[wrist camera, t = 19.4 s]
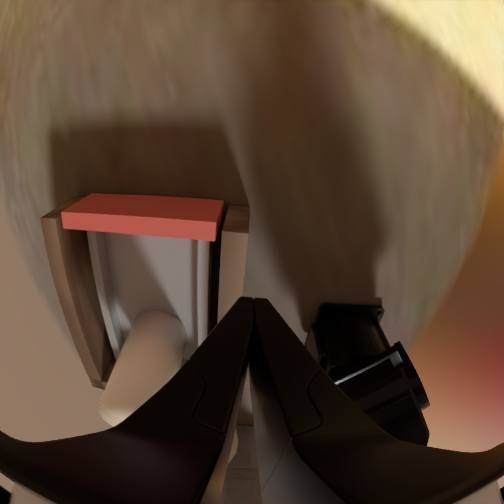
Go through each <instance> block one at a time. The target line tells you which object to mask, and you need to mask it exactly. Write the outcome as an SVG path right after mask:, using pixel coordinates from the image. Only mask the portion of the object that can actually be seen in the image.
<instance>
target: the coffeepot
mask: <svg viewBox="0 0 504 504" xmlns="http://www.w3.org/2000/svg"><path fill="white" fill-rule="evenodd" d="M235 429H236V431H237V437H238V446H237V450H236V454H235V455H234V457H233V458H232V459H231V461H230V462H229V464H228V466H227V471H226V475H225V480H224V485H223V489H222V494H221V498H220V503H219V504H262V498H261V488H260V479H259V470H258V461H257V451H256V441H255V431H254V426H250V425H236V428H235Z"/></svg>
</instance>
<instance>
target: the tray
mask: <svg viewBox="0 0 504 504" xmlns="http://www.w3.org/2000/svg"><path fill="white" fill-rule="evenodd" d="M223 204H224V200H213V199H200V198H186V197H170V196H152V195H130V194H100V193H92V194H90V195H88V196H86V197H85V198H83V199H81V200H80V201H78V202H76V203H75V204H73V205H72V206H70V207H68V208H67V209H65V210H64V211H62V212H61V215H62V223H63V229H75V230H87V237H88V244H89V250H90V256H91V262H92V268H93V273H94V278H95V283H96V288H97V293H98V297H99V301H100V306H101V310H102V314H103V318H104V322H105V325H106V329H107V333H108V336H109V340H110V343H111V346H112V350H113V353H114V356H115V359H116V361H117V358H118V356H119V354H120V351H121V349H122V347H123V344H124V342H125V340H126V338H127V335H128V333H129V331H130V329H131V327H132V324H133V322H134V320H135V318H136V316H137V315H138V314H139V313H141V312H143V311H146V310H160V311H164V312H167V313H169V314H171V315H173V316H175V317H176V318H177V319H178V320H179V321H180V322H181V323H182V324H183V325H184V327H185V329H186V332H187V339H186V344H185V348H184V353H183V357H182V362H181V366H180V368H181V367H182V366H183V365H184V363H185V362H186V361H187V360H189V358H190V356H191V355H192V354H193V353H194V352H195V350H196V349H197V348H198V347H199V346H200V344H201V343H202V342H203V341H204V340H205V338H206V337H207V336H208V335H209V334H210V328H211V285H212V257H213V241H215V240H216V236H217V233H218V230H219V226H220V223H221V220H222V217H223Z"/></svg>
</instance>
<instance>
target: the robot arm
mask: <svg viewBox="0 0 504 504" xmlns="http://www.w3.org/2000/svg"><path fill="white" fill-rule="evenodd" d="M325 308H327V309H326V310H323V309H325ZM378 311H379V312H378ZM383 314H384V309H383V307H382V306H374V305H347V304H322V305H321V306H320V307H319V310H318V314H317V317H316V321H315V324H312V325H311V328H310V332H309V335H308V338H307V342H306V347H305V346H304V345H303V343H302V342H301V341H300V340H299V338H298V337H297V336H296V335H295V333H294V332H293V331H292V329H291V328H290V327H289V326H288V324H287V323H286V322H285V321H284V319H283V318H282V317H281V316H280V314H279V313H278V312H277V310H276V309H275V308H274V307H273V305H272V304H271V303H270V301H269V300H268V299H266V298H254V300H253V298H252V297H243V296H241V297H239V298H238V299H237V300H236V302H235V303H234V304H233V305H232V307H231V308H230V309H229V310H228V312H227V313H226V314H225V315H224V316H223V318H222V319H221V320H220V321H219V323H218V324H217V325H216V326H215V327H214V329H213V330H212V331H211V332H210V334H209V335H208V336H207V337H206V338H205V340H204V341H203V342H202V343H201V344H200V346H199V347H198V348H197V349H196V350H195V352H194V353H193V354H192V355H191V356H190V358H189V360H187V361H186V362H185V363H184V365H183V366H182V367H181V368H180V369H179V370H178V372H177V373H176V374H175V375H174V376H173V377H172V378H171V379H170V380H169V381H168V382H167V383H166V384H165V385H164V386H163V387H162V388H161V389H160V390H158V391H157V392H156V393H155V394H154V395H153V396H152V397H151V398H149V399H148V400H147V401H146V402H145V403H144V404H142V405H141V406H140V407H139V408H138V409H137V410H135V411H134V412H133V413H132V414H131V415H129V416H128V417H127V418H126V419H125V420H123V421H122V422H121V423H119V424H117V425H116V426H114V427H112V428H110V429H108V430H105V431H101V432H97V433H92V434H87V435H83V436H76V437H71V438H65V439H59V440H52V441H46V442H25V441H21V440H17V439H14V438H12V437H10V436H8V435H7V434H5V433H3V432H2V431H0V472H1V473H2V474H3V475H5V476H6V477H8V478H9V479H11V480H12V481H13V482H15V484H14V487H13V490H12V493H11V492H9V491H8V490H6V489H5V488H4V487H2V486H1V485H0V504H219V503H220V498H221V494H222V489H223V485H224V480H225V475H226V471H227V466H228V462H229V457H230V452H231V448H232V443H233V438H234V433H235V428H236V424H237V419H238V414H239V409H240V404H241V399H242V394H243V389H244V384H245V379H246V374H247V368H248V367H249V380H250V391H251V401H252V411H253V421H254V431H255V441H256V451H257V461H258V470H259V479H260V488H261V498H262V504H504V487H502V488H501V489H500V488H499V485H498V482H497V480H498V479H499V478H500V477H502V476H503V475H504V443H501V444H499V445H498V446H496V447H494V448H492V449H490V450H488V451H484V452H474V453H470V452H459V451H452V450H445V449H439V448H433V447H428V446H427V443H428V439H429V430H428V427H427V425H426V422H425V419H424V417H423V414H422V412H421V411H422V410H423V409H425V408H427V407H428V406H430V403H429V400H428V398H427V395H426V392H425V390H424V387H423V385H422V383H421V381H420V378H419V376H418V374H417V372H416V370H415V368H414V366H413V364H412V362H411V360H410V359H409V357H408V355H407V353H406V351H405V350H404V348H403V346H402V344H401V343H400V341H398V342H397V343H395V344H394V345H393V346H392V347H390V345H389V343H388V341H387V339H386V337H385V335H384V333H383V330H382V328H381V326H380V324H379V323H380V321H381V319H382V316H383ZM248 361H249V364H248Z"/></svg>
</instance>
